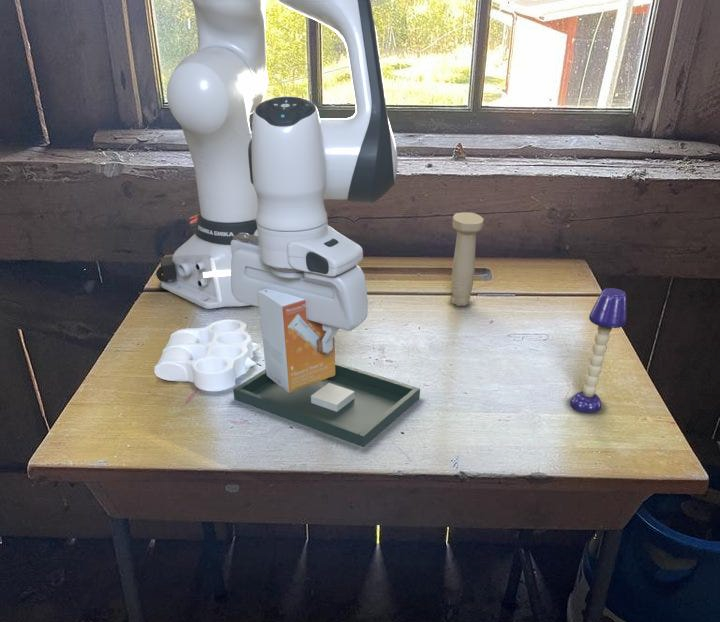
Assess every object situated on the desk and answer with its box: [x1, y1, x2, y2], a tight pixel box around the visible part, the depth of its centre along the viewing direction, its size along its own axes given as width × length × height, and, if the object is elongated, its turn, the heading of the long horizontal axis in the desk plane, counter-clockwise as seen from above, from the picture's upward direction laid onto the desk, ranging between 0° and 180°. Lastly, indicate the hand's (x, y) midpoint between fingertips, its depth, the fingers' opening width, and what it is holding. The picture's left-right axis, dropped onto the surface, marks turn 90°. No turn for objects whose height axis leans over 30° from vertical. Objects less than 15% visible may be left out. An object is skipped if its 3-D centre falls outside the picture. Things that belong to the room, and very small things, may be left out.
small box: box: [258, 289, 336, 393], centre depth 99 cm, size 8×6×13 cm
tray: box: [232, 361, 421, 448], centre depth 101 cm, size 22×15×2 cm
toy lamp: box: [569, 287, 627, 414], centre depth 97 cm, size 5×5×17 cm
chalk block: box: [311, 383, 355, 412], centre depth 101 cm, size 4×4×1 cm
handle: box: [450, 211, 484, 307], centre depth 125 cm, size 5×6×15 cm
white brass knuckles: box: [153, 318, 262, 392], centre depth 110 cm, size 3×18×15 cm
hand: (299, 343), depth 100 cm, fingers closed on small box, 7 cm apart
